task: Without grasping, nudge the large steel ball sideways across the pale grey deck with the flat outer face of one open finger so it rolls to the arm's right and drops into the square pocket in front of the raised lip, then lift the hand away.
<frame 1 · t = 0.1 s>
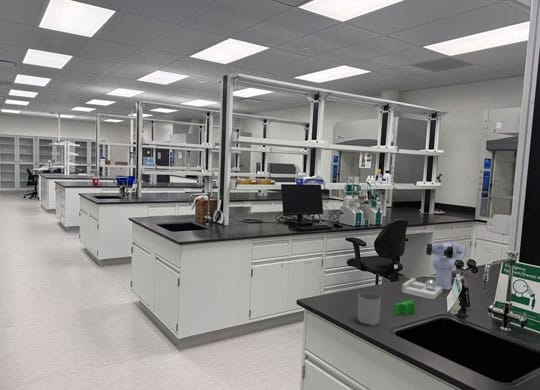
hand: (436, 251, 182), 22 cm above the counter, tool horizontal, fingers open, 7 cm apart
ball: (430, 284, 185), point 5 cm above the counter, touching deck
pipe clamp: (406, 314, 159), on the counter
deck: (422, 292, 189), on the counter
cup: (368, 321, 149), on the counter
valve: (457, 312, 163), on the counter
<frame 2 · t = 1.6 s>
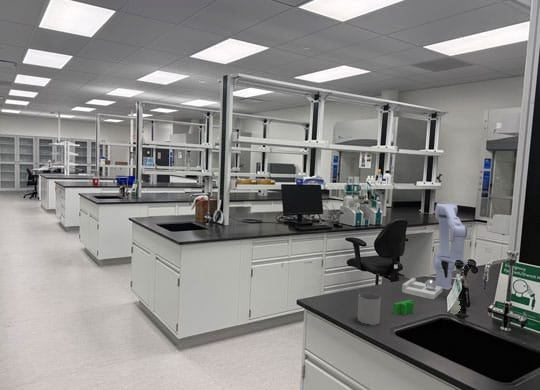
hand: (454, 279, 179), 10 cm above the counter, tool pointing down, fingers open, 7 cm apart
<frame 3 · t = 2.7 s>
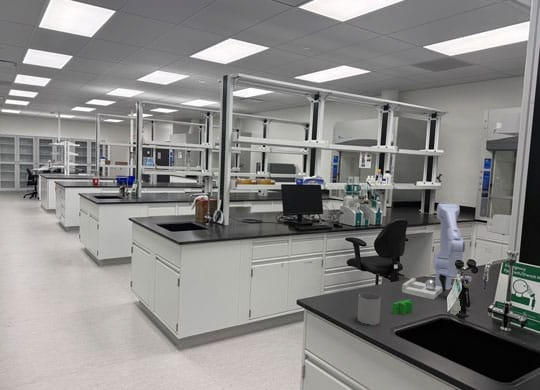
hand: (452, 293, 179), 3 cm above the counter, tool pointing down, fingers open, 7 cm apart
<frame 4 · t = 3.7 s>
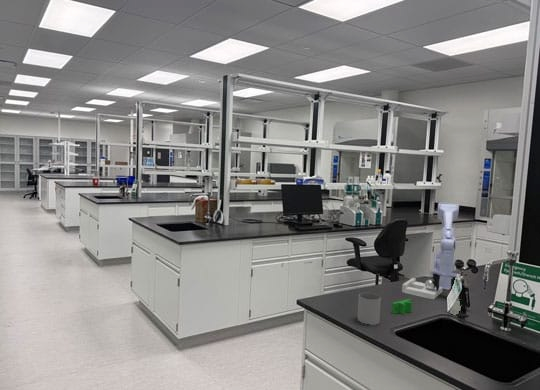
hand: (444, 291, 181), 3 cm above the counter, tool pointing down, fingers open, 6 cm apart
ball: (430, 284, 185), point 5 cm above the counter, touching deck, gripper
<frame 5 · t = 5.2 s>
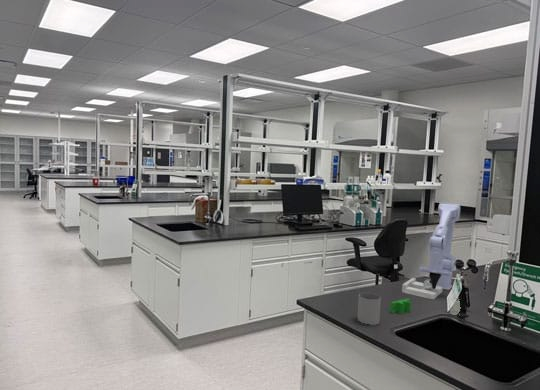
hand: (434, 288, 184), 4 cm above the counter, tool pointing down, fingers closed, pressing on ball
ball: (428, 284, 186), point 5 cm above the counter, tilted 20°, touching deck, gripper
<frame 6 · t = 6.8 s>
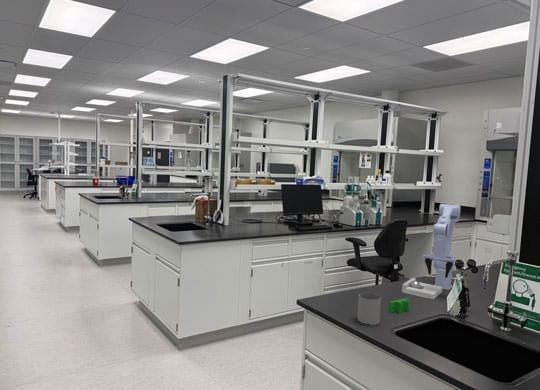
hand: (437, 275, 183), 10 cm above the counter, tool pointing down, fingers open, 7 cm apart
ball: (415, 286, 190), point 2 cm above the counter, tilted 164°
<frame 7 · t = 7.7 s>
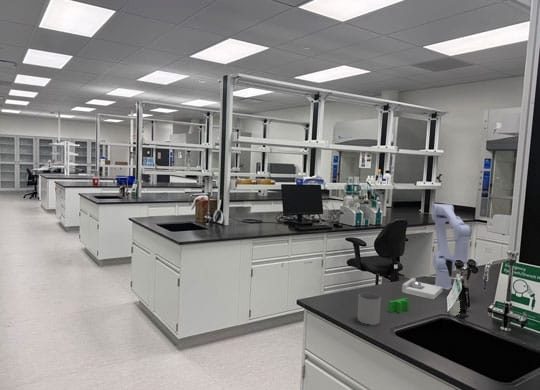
hand: (458, 277, 181), 10 cm above the counter, tool pointing down, fingers open, 7 cm apart
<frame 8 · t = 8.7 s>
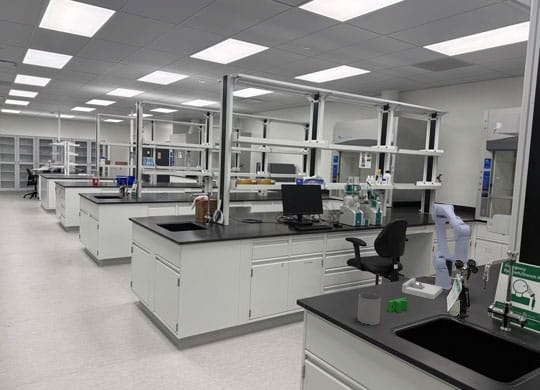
hand: (458, 277, 181), 10 cm above the counter, tool pointing down, fingers open, 7 cm apart
ball: (417, 286, 190), point 2 cm above the counter, tilted 152°
at the end: ball 0.3 cm from the target spot on the deck, point 2.5 cm above the deck's base; ball point 2.5 cm above the counter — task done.
